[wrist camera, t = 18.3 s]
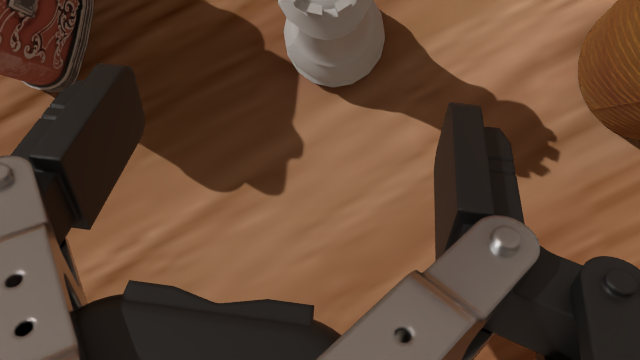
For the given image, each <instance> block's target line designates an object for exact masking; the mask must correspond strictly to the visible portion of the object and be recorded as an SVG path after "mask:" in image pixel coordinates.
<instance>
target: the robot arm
mask: <svg viewBox="0 0 640 360" xmlns="http://www.w3.org/2000/svg"><path fill="white" fill-rule="evenodd" d="M144 126H145V116H144V111H143V107H142V103H141V99H140V95H139V91H138V87H137V83H136V79H135V75H134V72H133V69H132V68H131V67H130V66H125V65H116V64H107V63H98V64H97V65H96V66H95V67H94V68H93V70H92V71H91V72H90V74H89V75H88V76H87V78H86V79H85V80H84V81H81V80H78V81H76V82H74V83H73V84H71V85H70V86H68V87H67V88H65V89H64V90H62V91H61V92H60V93H59V94H58V96H57V97H56V98H55V99H54V101H53V102H52V103H51V104H50V108H47V110H46V111H45V112H44V113H43V115H42V118H41V119H39V120H38V121H37V122H36V123H35V125H34V126H33V127H32V129H31V130H30V131H29V132H28V134H27V135H26V136H25V137H24V139H23V140H22V141H21V143H20V144H19V145H18V146H17V148H16V149H15V150H14V151H13V153H12V154H11V155H10V156H0V360H474V359H475V357H476V356H477V355H478V354H479V353H480V351H481V350H482V349H483V348H484V347H485V346H486V344H487V343H488V342H489V341H490V340H491V339H492V337H493V336H494V335H495V334H497V335H499V336H502V337H504V338H506V339H508V340H511V341H513V342H515V343H517V344H519V345H522V346H524V347H526V348H528V349H531V350H533V351H535V352H536V360H640V270H639V269H638V268H637V267H635V266H634V265H632V264H630V263H628V262H626V261H624V260H621V259H618V258H614V257H608V256H600V257H595V258H592V259H590V260H589V261H587V262H586V263H585V264H584V265H580V264H577V263H575V262H572V261H570V260H567V259H565V258H562V257H559V256H557V255H555V254H553V253H551V252H549V251H547V250H545V249H544V248H543V247H541V246H540V245H539V242H538V239H537V237H536V236H535V234H534V233H533V232H532V231H531V230H530V229H529V228H528V227H527V226H526V225H525V224H524V219H523V213H522V207H521V201H520V195H519V189H518V183H517V178H516V176H515V173H516V172H515V166H514V163H513V154H512V148H511V143H510V142H509V140H508V139H507V138H506V136H505V135H504V134H503V132H502V131H501V130H500V128H492V127H484V124H483V115H482V108H481V106H480V105H473V104H464V103H455V102H450V103H449V105H448V108H447V111H446V115H445V119H444V123H443V127H442V131H441V135H440V139H439V143H438V146H437V151H436V157H435V165H434V198H435V251H436V261H435V262H434V263H433V264H432V265H431V266H430V267H429V268H428V269H427V270H426V271H424V272H423V273H420V272H419V271H417V270H415V271H413V272H411V273H409V274H408V275H407V276H406V277H404V278H403V279H402V280H401V281H400V282H399V283H398V284H397V285H396V286H395V287H394V288H393V289H391V290H390V291H389V292H388V293H387V294H386V295H385V296H384V297H383V298H382V299H381V300H380V301H379V302H377V303H376V304H375V305H374V306H373V307H372V308H371V309H370V310H369V311H368V312H367V313H366V314H365V315H364V316H362V317H361V318H360V319H359V320H358V321H357V322H356V323H355V324H354V325H353V326H352V327H351V328H350V329H348V330H347V331H346V332H345V333H344V334H343V335H340V334H339V333H338V332H336V331H335V330H333V329H332V328H330V327H328V326H327V325H325V324H323V323H321V322H318V321H316V320H314V319H313V316H314V305H306V304H299V303H292V302H284V301H277V300H270V299H265V300H254V301H243V302H232V303H214V302H211V301H209V300H206V299H204V298H201V297H199V296H197V295H194V294H192V293H189V292H187V291H184V290H182V289H179V288H177V287H174V286H168V285H161V284H153V283H146V282H139V281H131V280H129V282H128V284H127V286H126V289H125V291H124V293H123V294H120V295H114V296H109V297H105V298H102V299H99V300H96V301H93V302H91V303H89V304H88V302H87V300H86V297H85V294H84V291H83V287H82V284H81V281H80V278H79V274H78V271H77V268H76V265H75V261H74V258H73V255H72V252H71V249H70V245H69V243H68V240H67V238H66V236H67V234H68V232H69V231H70V229H71V227H72V228H80V229H87V230H90V229H91V227H92V225H93V223H94V221H95V220H96V218H97V216H98V214H99V212H100V211H101V209H102V207H103V205H104V204H105V202H106V200H107V198H108V196H109V195H110V193H111V191H112V189H113V187H114V186H115V184H116V182H117V180H118V178H119V177H120V175H121V173H122V171H123V169H124V168H125V166H126V164H127V162H128V160H129V159H130V157H131V155H132V153H133V151H134V150H135V148H136V146H137V144H138V143H139V141H140V139H141V137H142V135H143V131H144Z"/></svg>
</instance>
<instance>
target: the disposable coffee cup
mask: <svg viewBox="0 0 640 360" xmlns="http://www.w3.org/2000/svg"><path fill="white" fill-rule="evenodd" d="M578 79H579V85H580V89H581V92H582V94H583V97H584V100H585V102H586V103H587V105H588V107H589V109H590V111H591V112H592V113H593V114H594V115H595V116H596V117H597V118H598V119H599V120H600V121H601V122H602V123H603V124H604V125H605V126H607V127H608V128H609V129H611V130H612V131H614V132H616V133H618V134H620V135H622V136H625V137H627V138H631V139H636V140H640V0H618V1H617V2H616V3H615V4H614V5H613V6H612V7H611V8H610V9H609V10H608V11H607V12H606V14H605V15H604V16H603V17H602V18H601V19H599V20H598V21H597V22H596V24H595V25H594V26H593V28H592V29H591V30H590V32H589V33H588V35H587V37H586V39H585V41H584V43H583V45H582V49H581V53H580V58H579V62H578Z"/></svg>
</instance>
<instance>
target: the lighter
mask: <svg viewBox="0 0 640 360" xmlns="http://www.w3.org/2000/svg"><path fill="white" fill-rule="evenodd" d="M93 8H94V0H0V75H4V76H7V77H11V78H14V79H18V80H21V81H22V82H23V83H24V84H26V85H28V86H29V87H32V88H35V89H39V90H43V91H46V92H60V91H62V90H64V89H65V88H67V87H68V86H70V85H71V84H73V83H74V82H75V80H76V79H77V77H78V74H79V71H80V67H81V64H82V61H83V57H84V54H85V51H86V47H87V44H88V38H89V32H90V27H91V21H92V16H93Z"/></svg>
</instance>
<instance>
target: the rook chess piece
mask: <svg viewBox="0 0 640 360" xmlns="http://www.w3.org/2000/svg"><path fill="white" fill-rule="evenodd" d="M278 4H279V6H280V7H281V9H282V10H283V12H284V14H285V15H286V17H287V19H286V23H285V27H284V36H285V43H286V49H287V53H288V56H289V58H290V60H291V61H292V63H293V65H294V66H295V68H296V69H297V71H298V72H299V73H300V74H302V75H303V76H305V77H306V78H307V79H309V80H310V81H312V82H313V83H316V84H320V85H324V86H329V87H338V86H344V85H350V84H353V83H355V82H356V81H358V80H359V79H361V78H363V77H364V76H366V75H367V74H369V73H370V71H371V70H372V69H373V67H374V66H375V64H376V63H377V62H378V60H379V59H380V57H381V53H382V49H383V45H384V41H385V34H384V27H383V20H382V14H381V12H380V10H379V9H378V7H377V5H376V4H375V2H374V1H373V0H278Z"/></svg>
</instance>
